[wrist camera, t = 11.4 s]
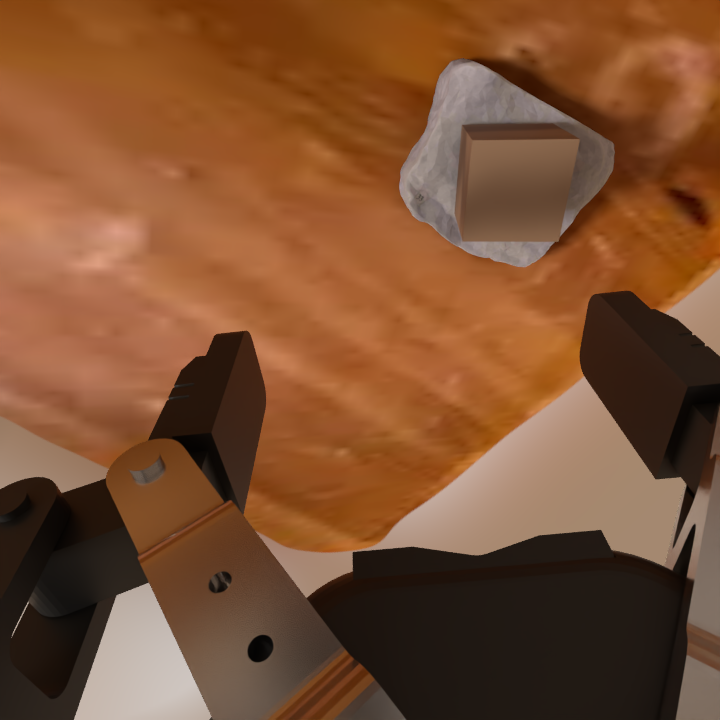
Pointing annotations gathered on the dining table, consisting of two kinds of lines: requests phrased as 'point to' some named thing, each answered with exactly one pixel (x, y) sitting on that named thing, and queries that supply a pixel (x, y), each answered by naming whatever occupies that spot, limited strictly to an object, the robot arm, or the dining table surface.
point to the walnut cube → (513, 182)
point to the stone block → (442, 147)
